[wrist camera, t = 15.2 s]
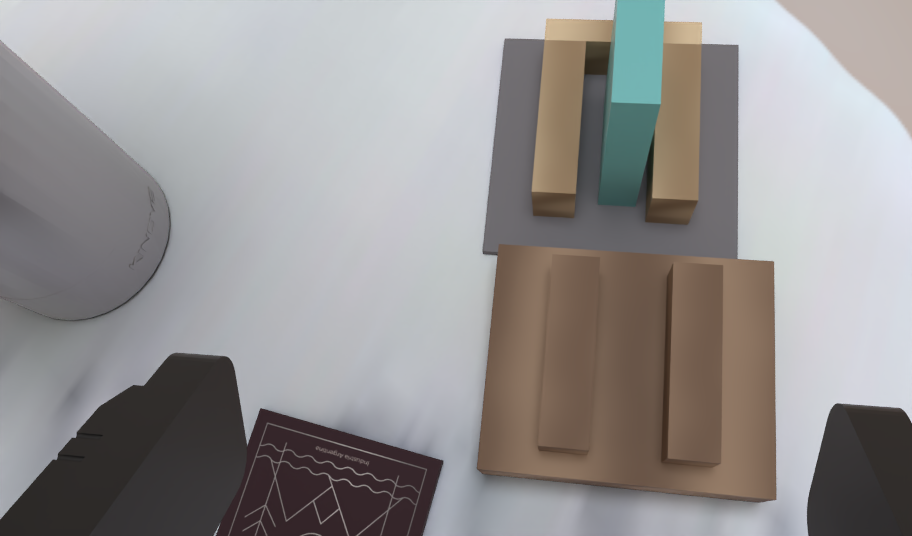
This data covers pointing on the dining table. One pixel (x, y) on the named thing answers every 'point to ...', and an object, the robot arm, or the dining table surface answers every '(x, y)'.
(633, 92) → the teal rectangular pillar
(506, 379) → the brown wooden stand
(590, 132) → the mat
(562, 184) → the rack
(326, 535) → the chocolate bar
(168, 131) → the dining table surface
